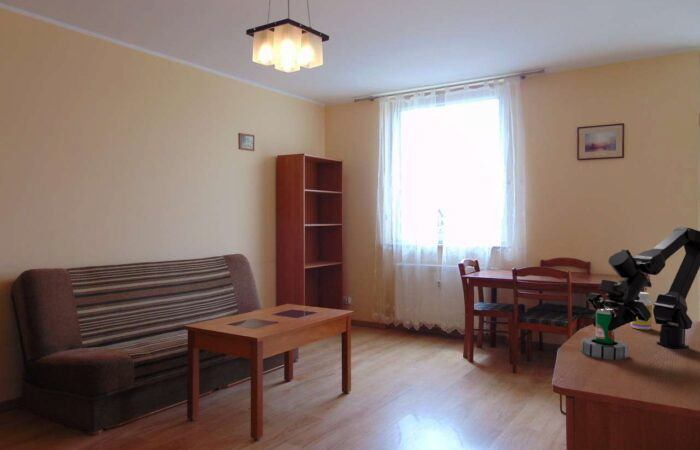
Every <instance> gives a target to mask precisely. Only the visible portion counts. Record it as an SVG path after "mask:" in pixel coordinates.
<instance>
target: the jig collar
mask: <svg viewBox="0 0 700 450" xmlns="http://www.w3.org/2000/svg"><path fill="white" fill-rule="evenodd" d="M595 337H596V336H591V337H590V336H587V337H583V338H581V347H580V348H581V351H580V352H581V353H582V354H583V355H586V356H588V357H592V358H594V359H595V358H596V359H600V360H601V359H603V360H610V361H613V360H615V361H618V360H619V361H620V360H626V359H627V358H628V357H629V343H627V342H625V341H623V340H620V339H616V338H615V345H602V344H597V343H595Z"/></svg>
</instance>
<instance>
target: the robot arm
mask: <svg viewBox="0 0 700 450" xmlns="http://www.w3.org/2000/svg"><path fill="white" fill-rule="evenodd" d="M681 248H684V252H685V255H684V257H683V259H682V261H681V263H680V265H679V268H678V270H677V272H676V274H675V276H674V279H673V281H672V283H671V285H670V287H669V290H668V291H667V292H666V293H665V294H662V293H660V294H658V295H657V298H656V300H655V302H654V303H653V307H652V315H653V317H654V321H655V324H656V325H660V330H659V341H656V344H658V345H661V346H664V347H667V348H670V349H680V348H690V345H688V344H686V330H690V329H692V325H693V320H692V319H691V318H690V316H689V315H688V304H687V301H686V300H687V299H686V298H687V296H688V294H689V292H690V290H691V288H692V285H693V283H694V282H695V279H696V277H697V274H698V273H699V270H700V230H697V229H695V228H691V227H677V228H674V230H673V231H672V233H670V234H669V235H668V236H666V237H665V238H664V239H662V241H660V242H659V243H658V244H657V245H655V246H654V247H653V248H652V249H648V250H645V251H642V252H639V253H637V254H636V255H634V257H633V256H632V253H631V251H630V250H629V249H624V248H623V249H621V251H619V252H615V253H614V254H613V255H610V257H609V258H608V265H610V267H611V268H612V269H613V271H614V272H615V274H616V275H617V276H618V277H619V278H621V279H622V280H618V281H613V280H609V279H601V281H600V285H599V287H598V290H599V291H602V292H603V293H606V294H605V296H606V298H608V299H606V298H605V297H604V296H603V295H602V294H601V293H595V292H589V294H588V295H587V296H586V298H585V299H586V300H587V302H588V303H589V304H590V305H591V307H592V308H593V310H595V315H594V319H593V324H592V326H593V327H594V328H596V312H597V309H598V308H608V309H613V310H614V309H615V310H617V313H616V314H615V318H614V319H613V321H612V322H611V324H610V326H609V328H608V329H609V331H612V330H614V329H615V330H616V329H619V328H620V327H622V326H625V325H627V324H630V323H631V322H633V321H637V319H636V317H638V319H639V320H641V321H646V322H647V321H648V320H649V318H650V317H651V313H650V311H649V310H648V309H647V307H646V306H645V305H644V303H643V302H639V299H640V298H639V296H638V295H639V293H640V292H643V289H644V288H652V285H653V284H652V282H651V278H648V277H647V275H651V276H657V275H659V274H661V271H662V270H664V269H665V267H666V261H667V260H668V259H669V258H670V257H672V256H673V255H674V254H675V253H676V252H677V251H679V250H680V249H681ZM635 300H636V301H635Z"/></svg>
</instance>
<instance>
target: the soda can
mask: <svg viewBox="0 0 700 450" xmlns="http://www.w3.org/2000/svg"><path fill="white" fill-rule="evenodd" d="M595 314H596V327H595V336H594V337H595V343H597V344H602V345H615V339H616V338H615V337H616V334H615V333H616V329H614V330H612V331H609V329H608V328H609V326H610V324H611V322H612V321H613V319H614V318H615V316H616V313H615V310H614V308H598V309H597V312H596V311H595Z"/></svg>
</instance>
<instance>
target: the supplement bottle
mask: <svg viewBox="0 0 700 450" xmlns="http://www.w3.org/2000/svg"><path fill="white" fill-rule="evenodd" d="M638 296H639V298H640V299H639V302H643V303H644V305H645V306H646V307H647V309H648V310H649V311H650V313H651V317H650V318H649V320H648V321H647V322H646V321H641V320H639V319H638V317H636V319H637V321H633V322H630V323H629V324H630V327H631V328H633V329H637V330H646V331H647V330H648V331H649V330H651V329H652V321H653V319H652V316H653V303H652V301H651V300H650V299H649V297H650V293H649V292H645V291H641V292H640V293H639V295H638ZM635 301H636V300H635Z"/></svg>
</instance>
